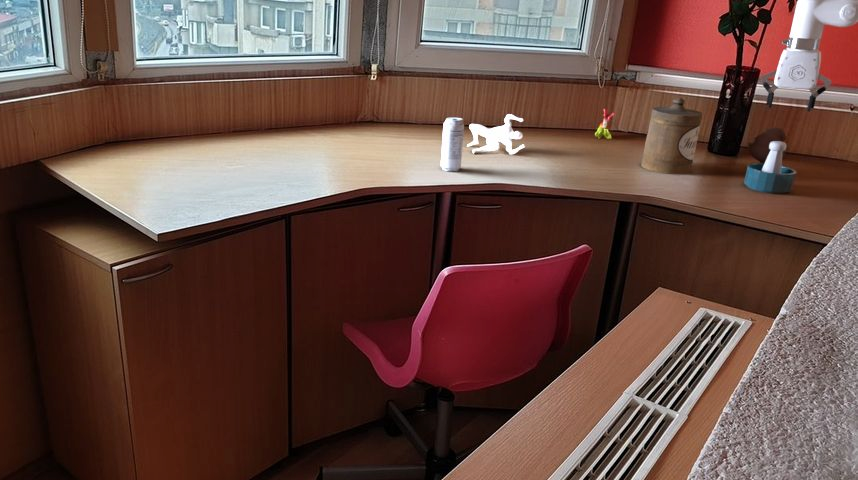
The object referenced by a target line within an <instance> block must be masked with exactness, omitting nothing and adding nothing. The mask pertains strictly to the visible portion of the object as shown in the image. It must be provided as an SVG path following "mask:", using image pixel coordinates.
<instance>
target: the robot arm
mask: <svg viewBox="0 0 858 480" xmlns="http://www.w3.org/2000/svg"><path fill="white" fill-rule="evenodd" d="M857 23H858V0H797V1H796V5H795V10H794V15H793V19H792V23H791V29H790V33H789V37H788V38H787V39H786V38H785V39H782V42H781V45H782V46H786V48H785V49H783V51H782V53H781V55H780V57H779V61H778V65H777V68H776V70H773V71H770V72H768V73H765V74H762V75H761V76H760V81H761V84H762V86H763V88H764V89H765V91H766V92H767V97H766V98H767V99H766V105H768V109H771V108H772V106H773V101H774V97H775V91H776V90H777V89H779V88H781V89H793V90H804V91H805V90H807V91H808V90H809V92H810V93H811V94H810V95H809V99H808V103H807V108H806V112H809V113H810V112H811V110H812V109H814V108H815V104H816V99H817V97H818V96H820V95H822V94H823V93H824V92H826V90H827V89H828V88H829V87H830V86H831V85H832V83H833V82H832V79H829V78H828V77H826V76H824V75H823V74H821V73H820V68H821V62H822V51H820V50H819V48H820V45H821V40H822V36H823V32H824V29H825V26H832V27H838V28H848V27H851V26H854V25H856V24H857ZM773 77H774V80H773V82H774V83H773V84H772V85H771V86H770V84H769V83H768V79H771V78H773ZM818 80H819V81H821V82H822V83H823V85H821V87H820V88H818V89H816V86H817V83H818Z"/></svg>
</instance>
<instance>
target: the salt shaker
mask: <svg viewBox="0 0 858 480" xmlns="http://www.w3.org/2000/svg"><path fill="white" fill-rule="evenodd" d="M786 147H787V143H786V142H785V141H784V142H781V141H773V142H771V143H770V145H769V149H771V150H770V153H769V155H768V157H767V159H766V161H765V164H764V166H763V168H762V170H761V171H764V172H769V173H778V174H781V169H782V166H783V156H782V152H783V151H785V150H786Z"/></svg>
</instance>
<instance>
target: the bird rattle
mask: <svg viewBox="0 0 858 480" xmlns="http://www.w3.org/2000/svg"><path fill="white" fill-rule="evenodd" d="M609 111H610V110H609V109H606V108H603V117H604V118H603V121H602V122H601V123H600V124H599V126H598V128H597V131H596V132H595V133H594V136H595V137H597V139H598V140H600V139H601V138H602V137H604V138H605V139H606V140H611V139H613V136H612V134H611V132H610V131H609V129H610V124H609V122H610V121H611V118H612V117H614V116H615V115H616V113H614V112H612V113H609Z"/></svg>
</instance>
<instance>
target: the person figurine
mask: <svg viewBox="0 0 858 480" xmlns="http://www.w3.org/2000/svg"><path fill="white" fill-rule="evenodd" d="M511 120H515V121H518V122H520V123H523V122H524V118H523V117H518V116H516V115H514V114H511V113H508V114H506V116H505V118H504V119H503V122H504V123H505V124H504V125H501V126H494V127H492V128H488V127H486V126H485V125H482V124H479V123H471V124H469V127H468V128H469V130H470V131H471V133H472V136H473V141H472V142H470V143H468V144H467V145H466V147H472V146H477V145H479V144H480V143H479V136H481V137H484V138H485V142H486V145H484V146H481V147H479V148H478V147H477V148H473V149H472V154H475V153H479V152H486V153H489V152H495V151H498V150H500V143H502V144H503V145H504V146H505V150H506V152H507V153H508V154H509V155H513V156H514V155H515V154H517V153H518V152H519V151H521V150H522V149H525V148H526V145H525V144H521V145H519V147H517V148H514V149H513V141H512V140H516V141H517V140H522V138H523V137H524V135H523V133H522V132H521V131H519V130H515V131H514V129H513V127H512V124H513V123H512V122H511Z"/></svg>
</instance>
